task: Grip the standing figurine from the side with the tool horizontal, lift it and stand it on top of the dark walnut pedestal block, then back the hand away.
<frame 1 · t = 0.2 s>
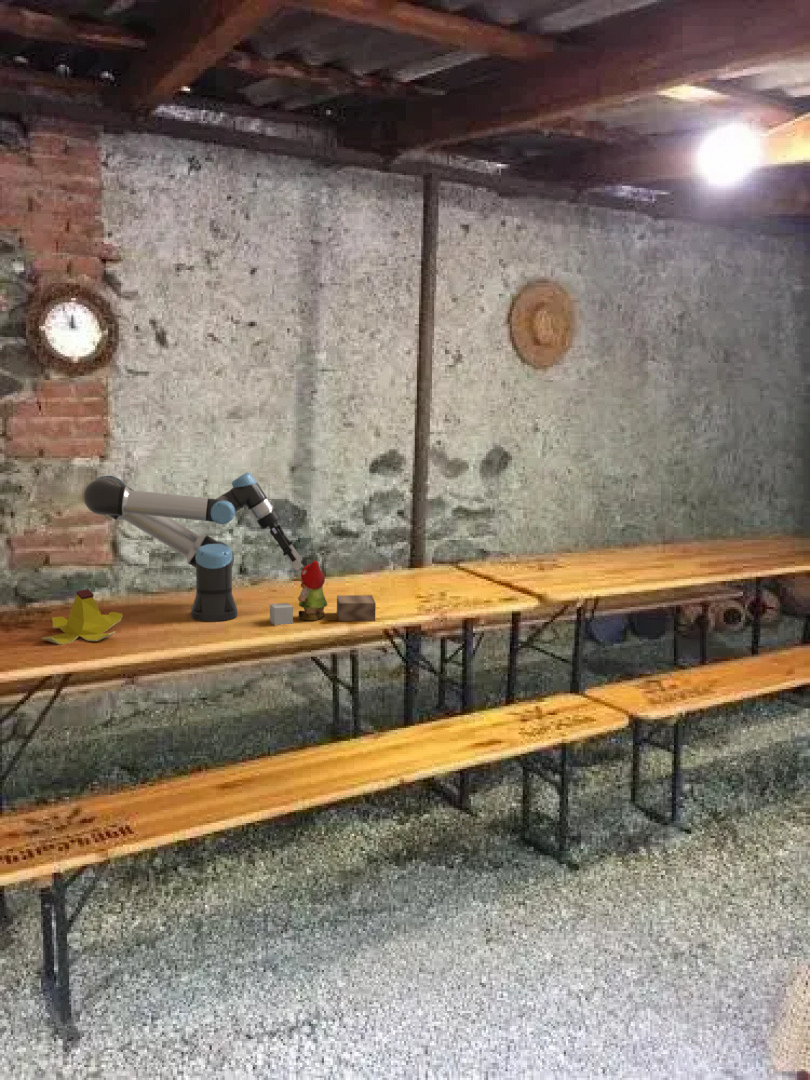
hand: (299, 565, 340), 15 cm above the table, tool tilted 35°, fingers open, 13 cm apart
grey cube: (281, 623, 319), on the table
figurine: (311, 619, 326), on the table
pedestal: (355, 616, 330), on the table
banana peel: (83, 635, 299), on the table
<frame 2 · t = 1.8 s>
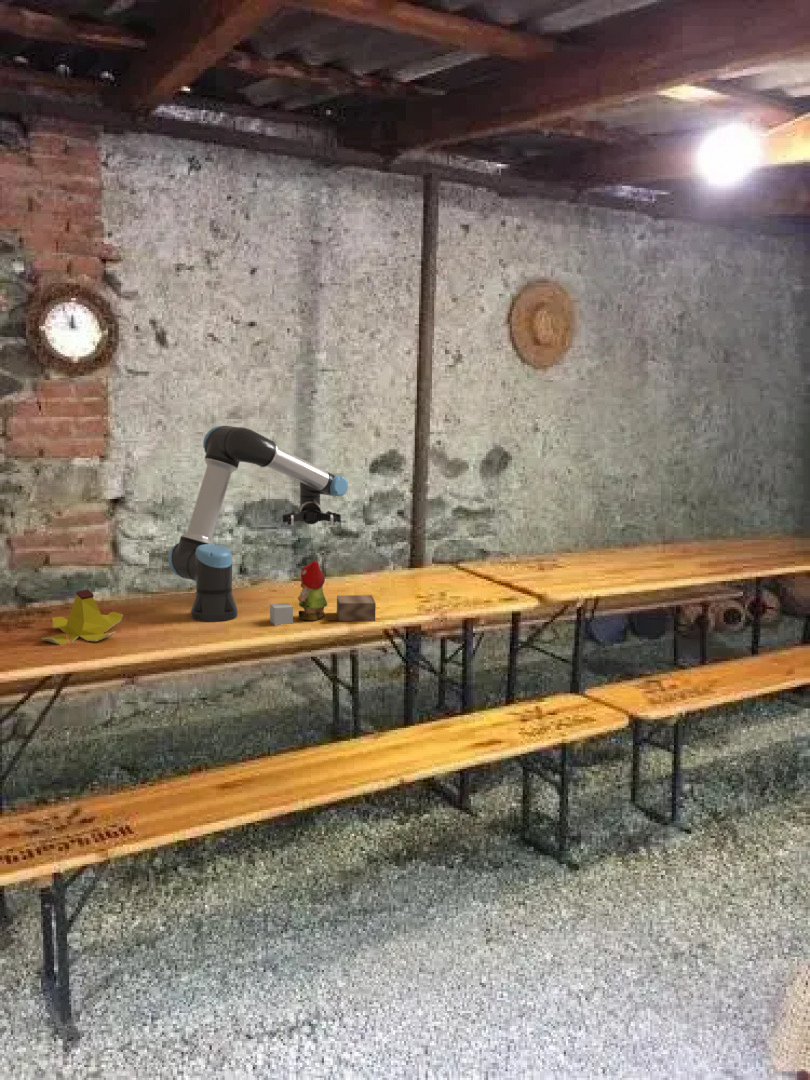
hand: (312, 521, 335), 31 cm above the table, tool horizontal, fingers open, 13 cm apart
nothing on the table moved.
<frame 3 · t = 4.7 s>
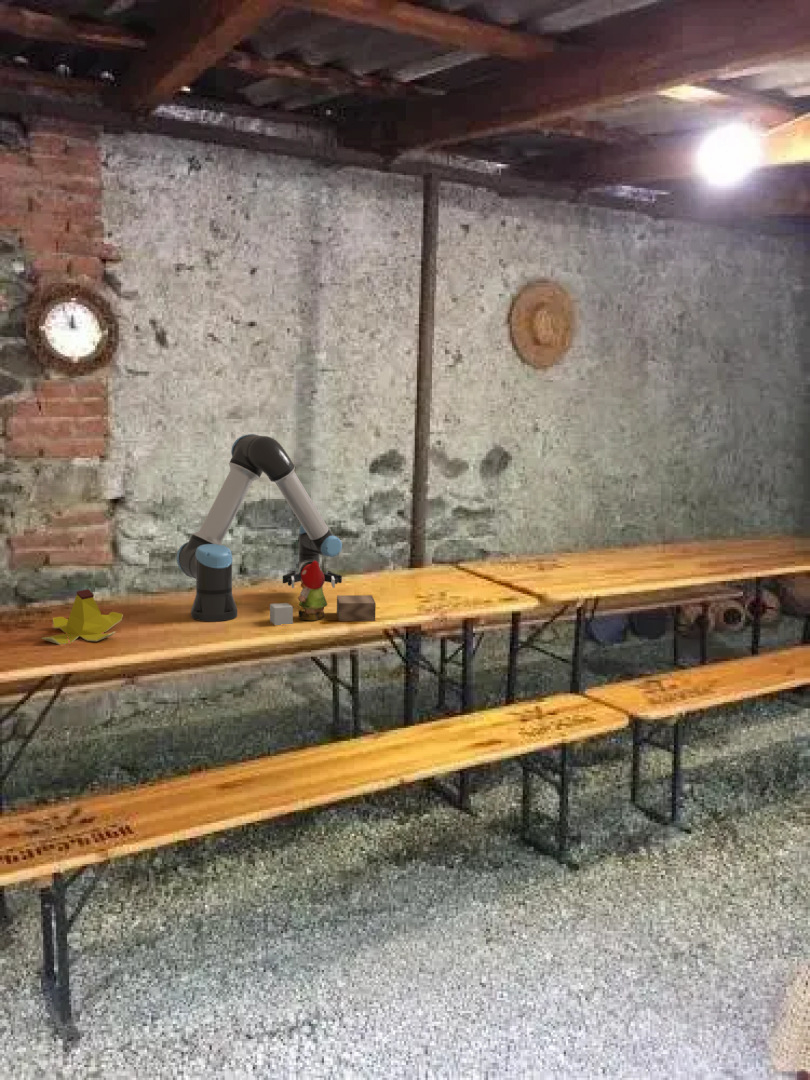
hand: (313, 583, 328), 11 cm above the table, tool horizontal, fingers open, 13 cm apart
nothing on the table moved.
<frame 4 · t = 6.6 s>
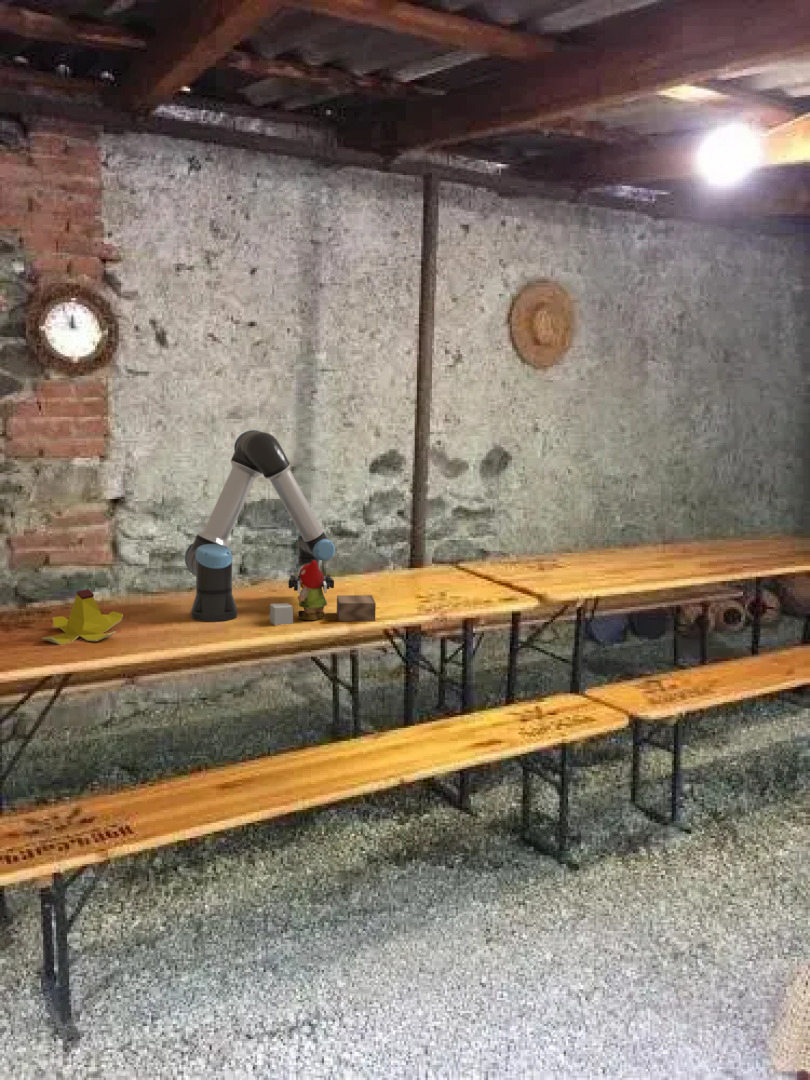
hand: (312, 589, 320), 11 cm above the table, tool horizontal, fingers closed on figurine, 8 cm apart
figurine: (311, 618, 326), on the table, touching gripper
everything else where it was.
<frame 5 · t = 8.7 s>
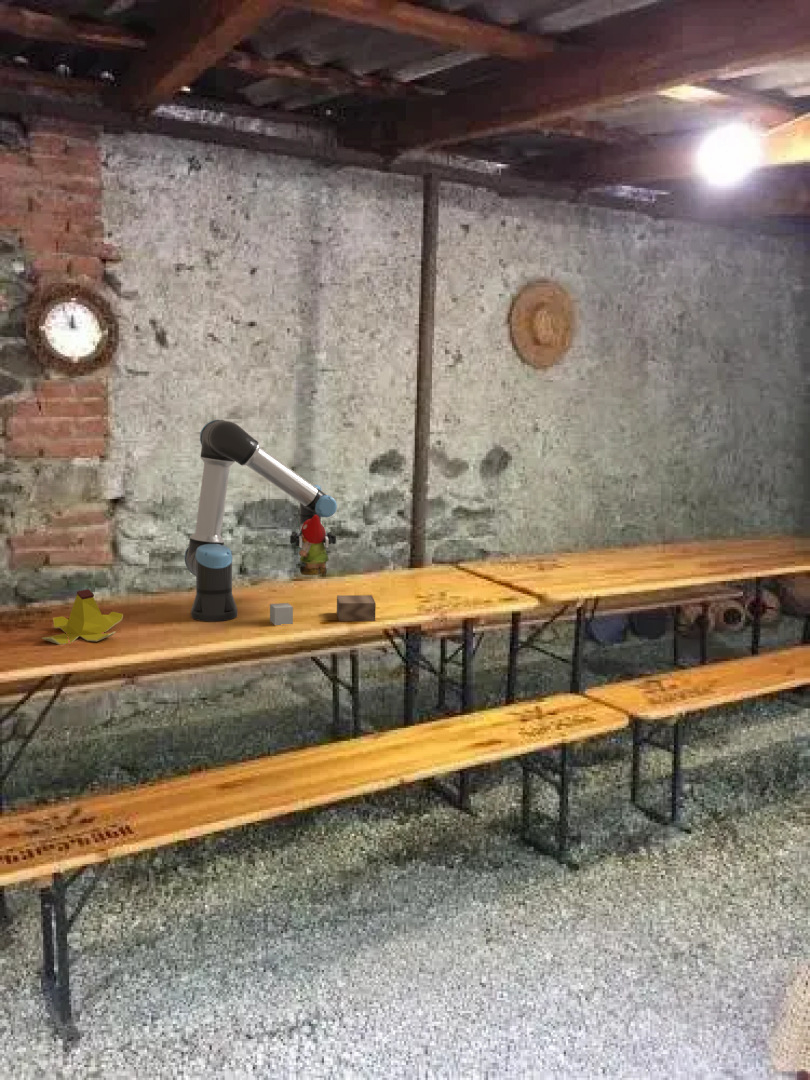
hand: (314, 543, 317), 26 cm above the table, tool horizontal, fingers closed on figurine, 8 cm apart
figurine: (313, 574, 324), point 15 cm above the table, touching gripper
everything else where it was.
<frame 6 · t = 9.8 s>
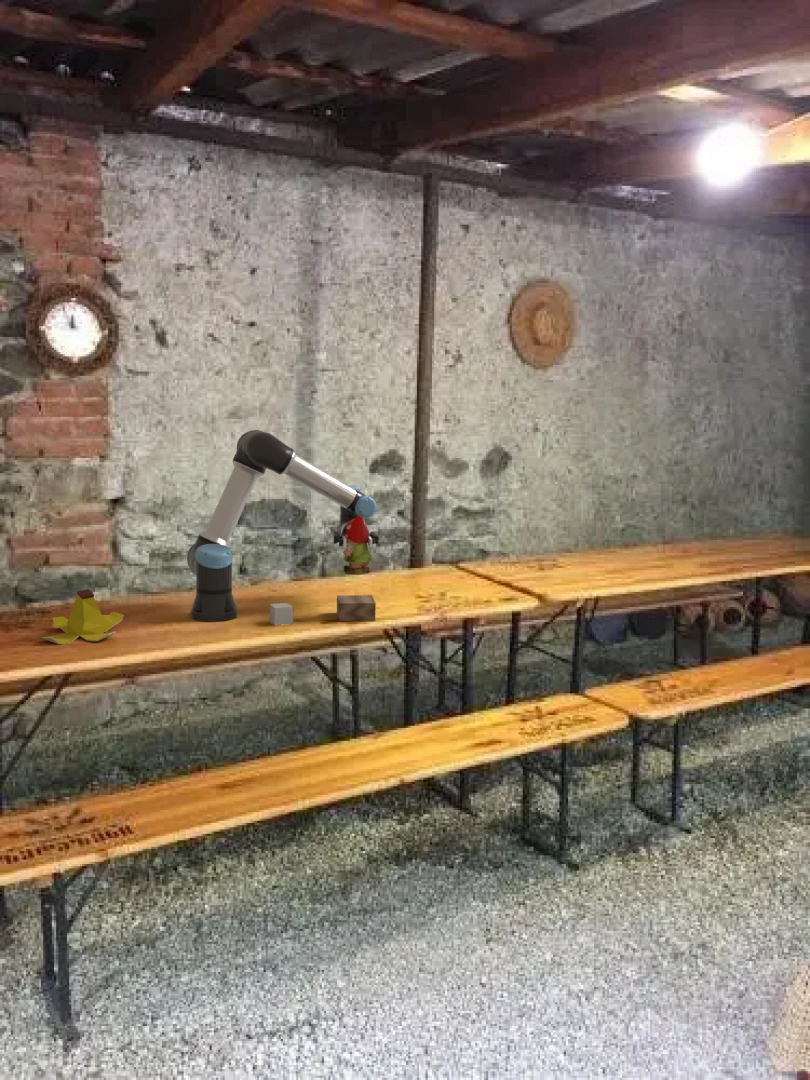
hand: (358, 543, 321), 26 cm above the table, tool horizontal, fingers closed on figurine, 8 cm apart
figurine: (356, 574, 328), point 15 cm above the table, touching gripper
everything else where it was.
when the fingers open (18 cm above the table, at t = 11.8 s): figurine drops 2 cm, resting on pedestal.
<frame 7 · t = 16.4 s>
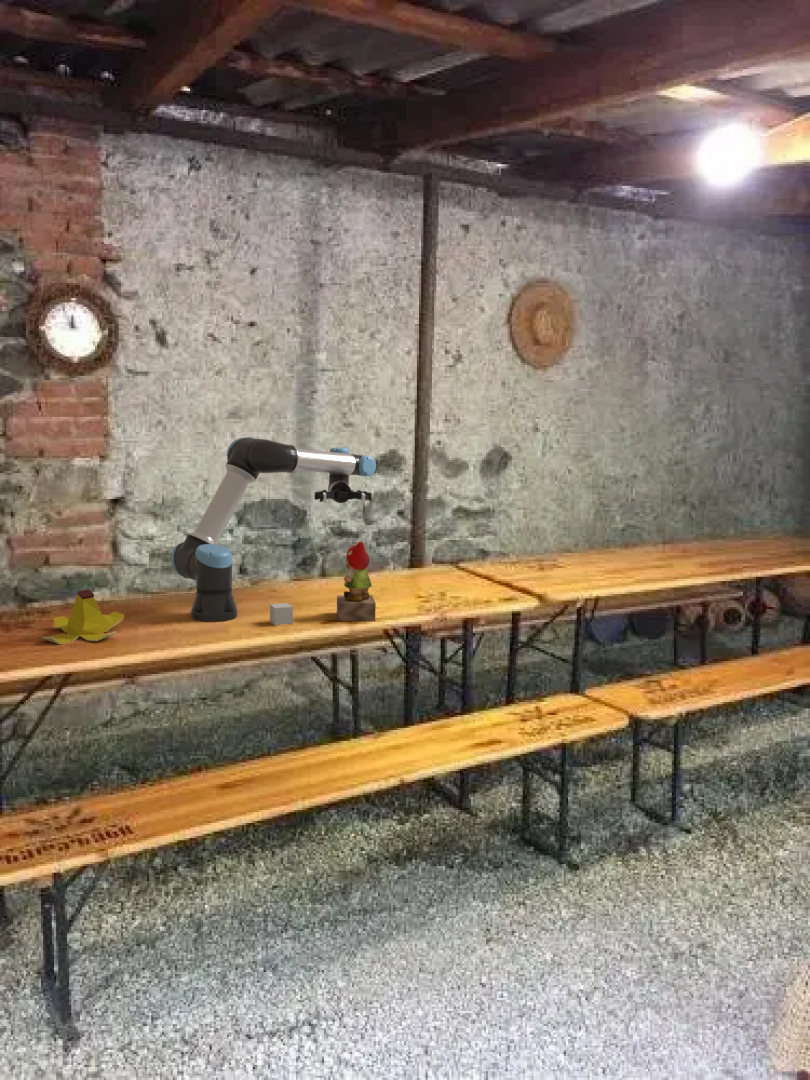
hand: (344, 498, 340), 38 cm above the table, tool horizontal, fingers open, 13 cm apart
figurine: (356, 599, 329), point 6 cm above the table, touching pedestal
everything else where it was.
at the end: figurine inside the target area on the pedestal (0.2 cm from its centre), point 5.8 cm above the pedestal's base; figurine tilted 0°; the gripper is holding nothing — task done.
